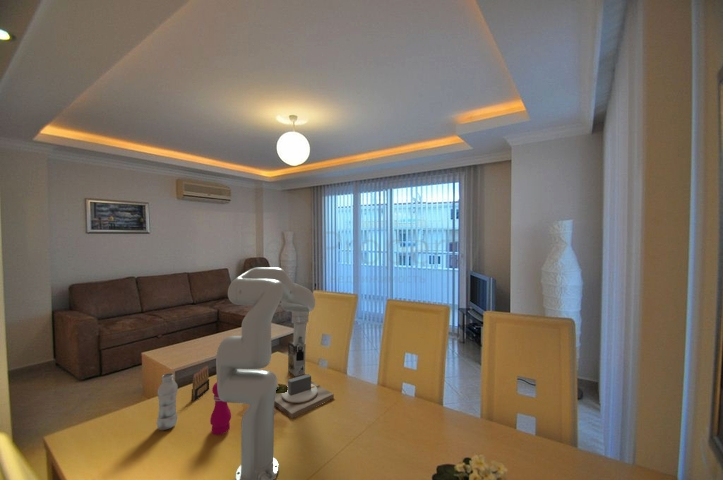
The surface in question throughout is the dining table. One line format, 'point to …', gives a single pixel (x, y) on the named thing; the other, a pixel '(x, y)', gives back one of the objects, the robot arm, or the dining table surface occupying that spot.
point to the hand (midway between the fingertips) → (299, 356)
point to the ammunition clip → (200, 384)
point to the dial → (300, 389)
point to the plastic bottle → (167, 403)
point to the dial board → (302, 407)
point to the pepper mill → (220, 414)
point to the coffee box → (294, 365)
